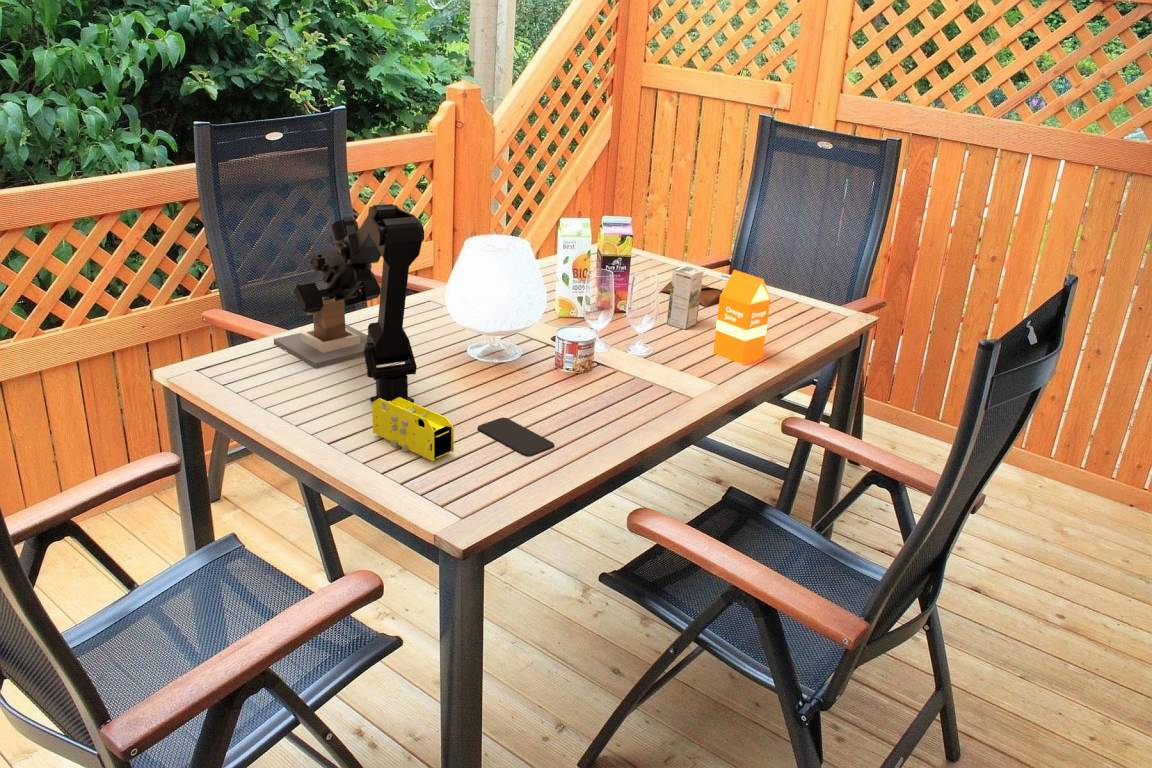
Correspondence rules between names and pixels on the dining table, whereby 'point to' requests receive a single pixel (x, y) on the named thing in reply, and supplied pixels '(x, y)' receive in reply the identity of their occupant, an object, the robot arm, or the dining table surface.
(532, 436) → the phone
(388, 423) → the yellow toy chassis
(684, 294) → the syrup box
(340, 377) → the dining table surface
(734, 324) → the orange juice
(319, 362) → the socket plate
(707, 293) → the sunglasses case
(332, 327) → the walnut block
